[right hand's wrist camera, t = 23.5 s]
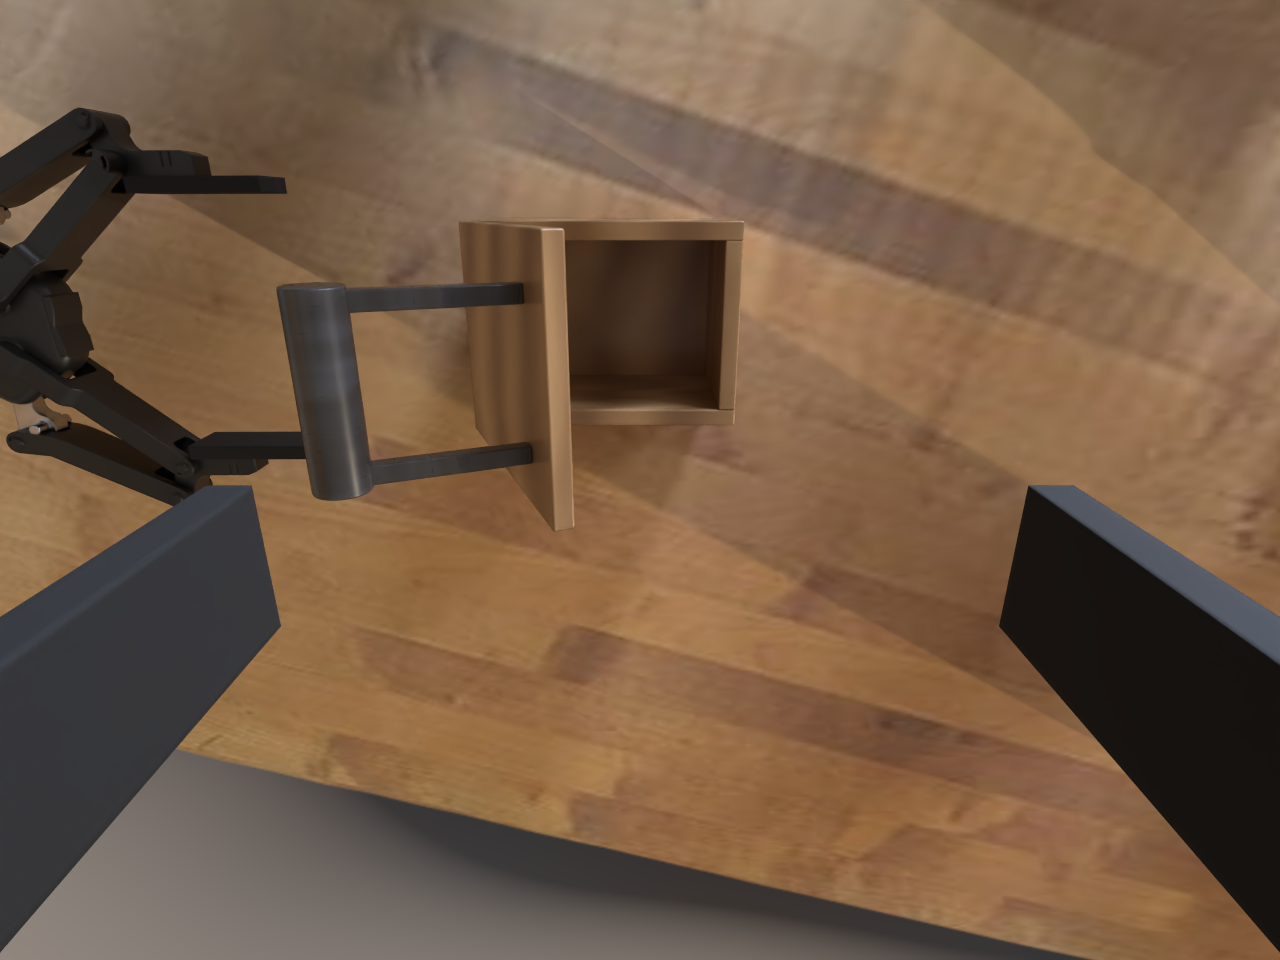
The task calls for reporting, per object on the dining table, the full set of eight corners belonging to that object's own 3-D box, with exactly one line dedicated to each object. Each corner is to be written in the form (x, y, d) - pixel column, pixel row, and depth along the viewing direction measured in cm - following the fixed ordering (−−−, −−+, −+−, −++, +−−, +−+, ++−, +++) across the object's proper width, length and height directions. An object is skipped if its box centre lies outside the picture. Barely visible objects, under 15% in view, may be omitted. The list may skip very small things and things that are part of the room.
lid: (565, 228, 22) (260, 230, 19) (575, 529, 25) (320, 573, 22) (475, 221, 34) (279, 222, 30) (491, 427, 37) (317, 446, 34)
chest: (723, 218, 43) (744, 221, 34) (716, 385, 46) (734, 425, 37) (503, 218, 42) (468, 220, 34) (514, 384, 46) (485, 425, 37)
